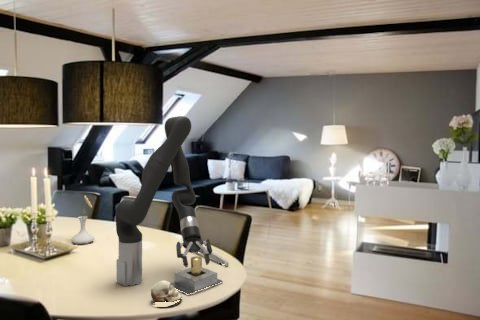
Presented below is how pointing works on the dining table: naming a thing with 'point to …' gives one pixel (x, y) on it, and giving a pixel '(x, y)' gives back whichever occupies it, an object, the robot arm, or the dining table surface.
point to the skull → (165, 292)
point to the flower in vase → (83, 228)
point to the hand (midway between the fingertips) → (197, 265)
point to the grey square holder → (194, 280)
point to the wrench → (217, 258)
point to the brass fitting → (196, 266)
